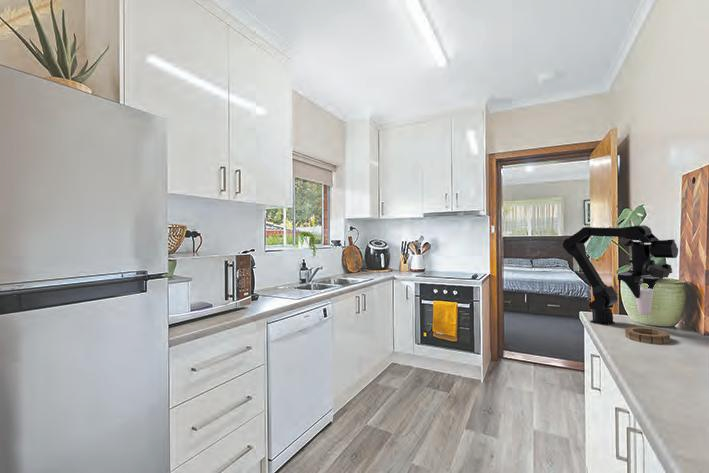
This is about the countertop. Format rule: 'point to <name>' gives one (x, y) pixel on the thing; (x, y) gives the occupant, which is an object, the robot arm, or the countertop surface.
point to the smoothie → (644, 300)
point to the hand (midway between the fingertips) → (643, 297)
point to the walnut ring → (647, 335)
